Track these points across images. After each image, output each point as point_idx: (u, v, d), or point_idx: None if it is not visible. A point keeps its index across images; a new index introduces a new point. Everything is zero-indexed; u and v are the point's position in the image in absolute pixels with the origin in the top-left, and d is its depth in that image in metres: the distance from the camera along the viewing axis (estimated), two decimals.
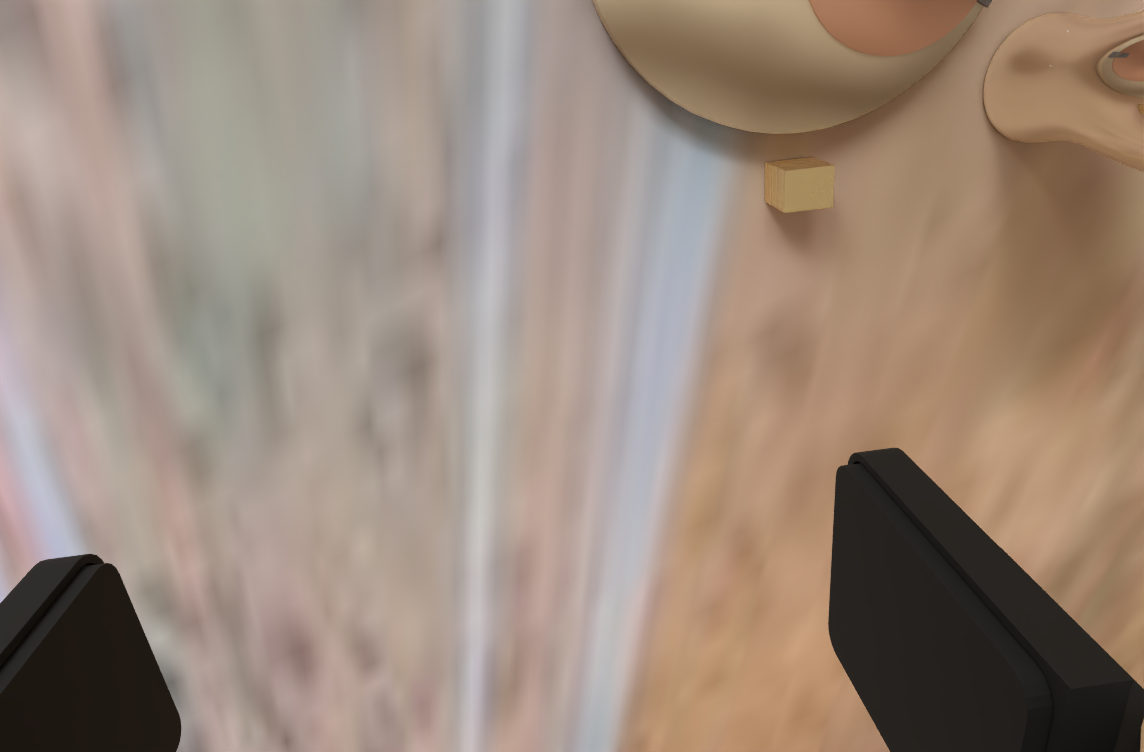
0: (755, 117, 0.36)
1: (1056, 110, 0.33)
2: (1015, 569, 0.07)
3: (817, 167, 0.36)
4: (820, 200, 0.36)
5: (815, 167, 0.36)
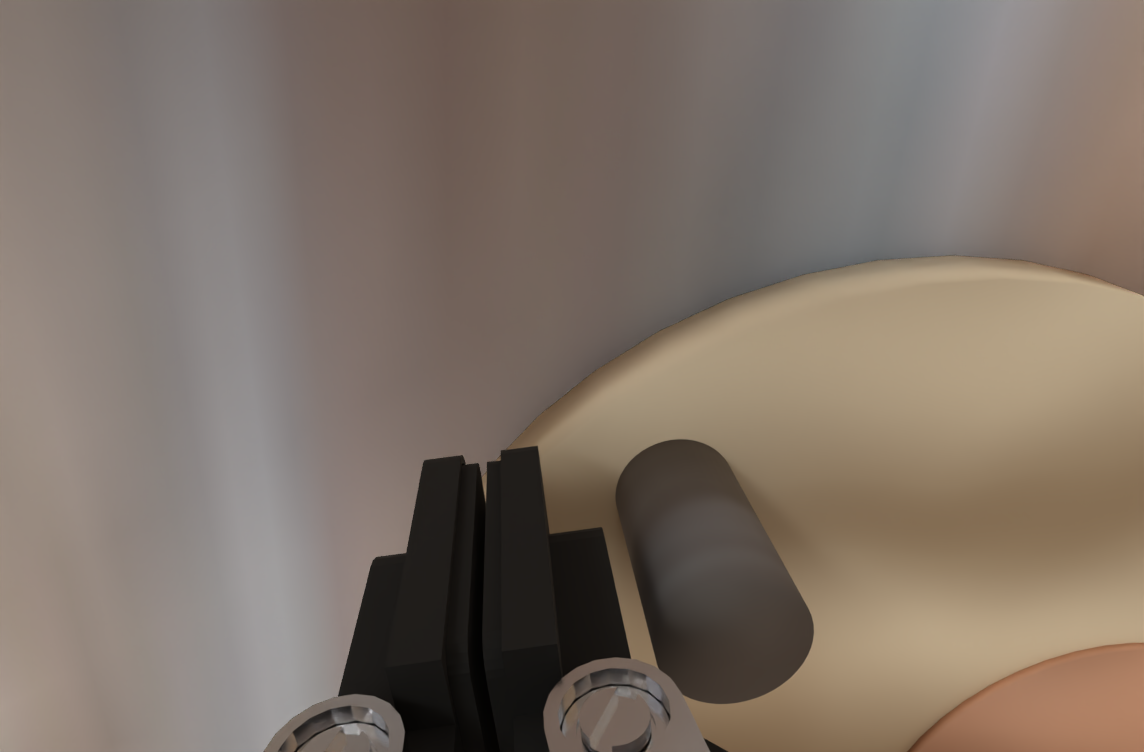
0: None
1: None
2: (542, 551, 0.08)
3: None
4: None
5: None
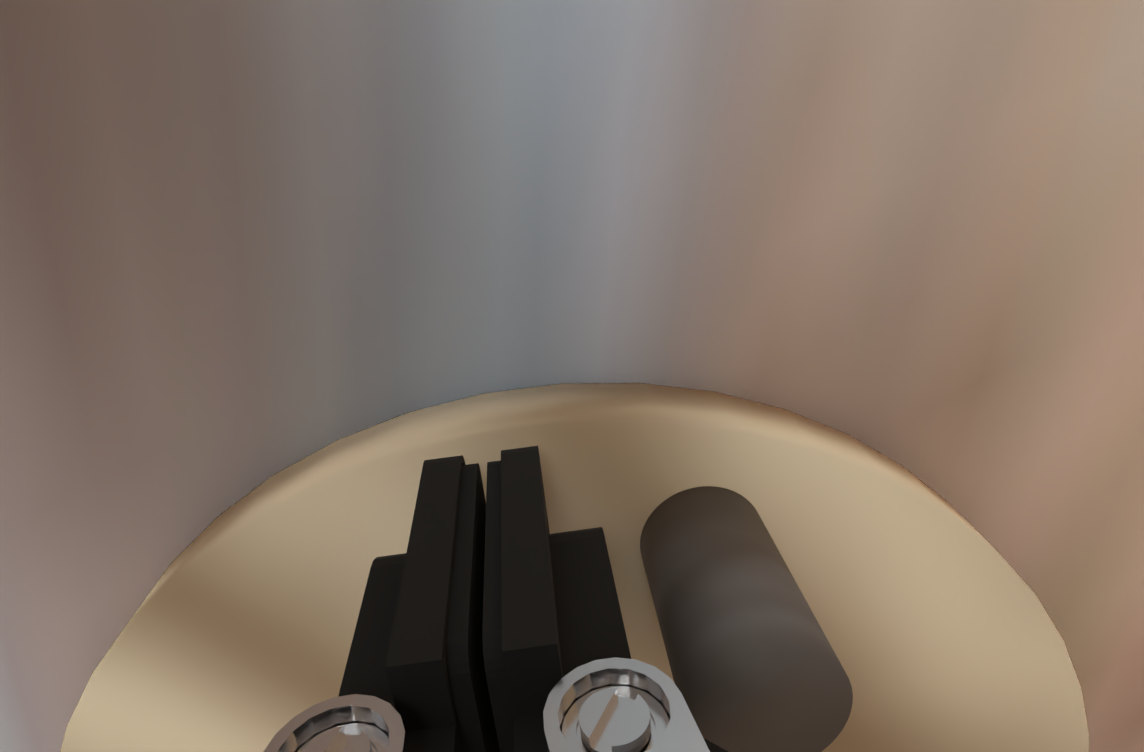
0: None
1: None
2: (542, 551, 0.08)
3: None
4: None
5: None
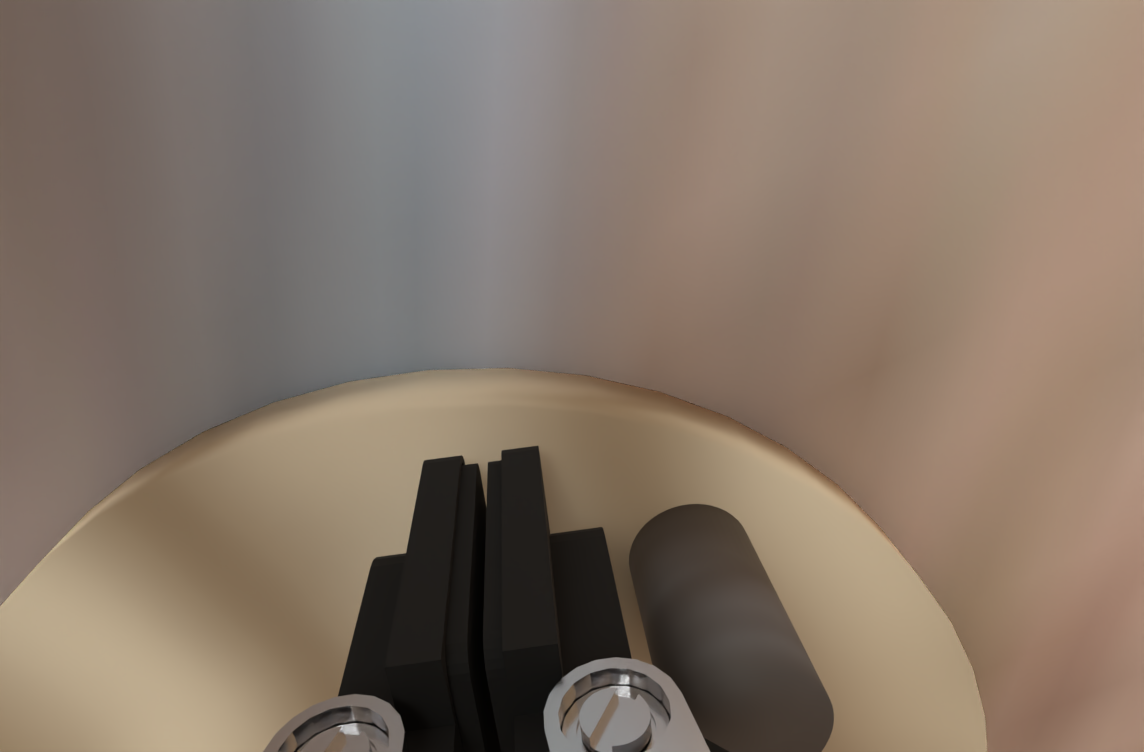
0: None
1: None
2: (542, 551, 0.08)
3: None
4: None
5: None
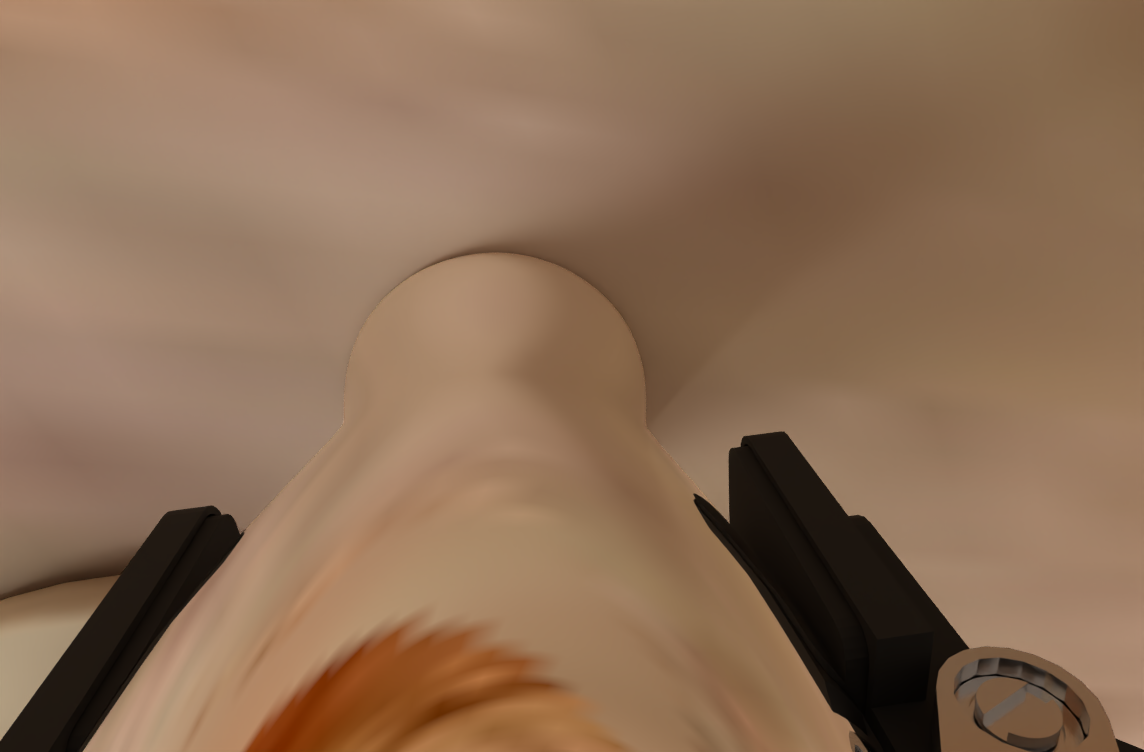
0: None
1: None
2: (858, 537, 0.08)
3: None
4: None
5: None
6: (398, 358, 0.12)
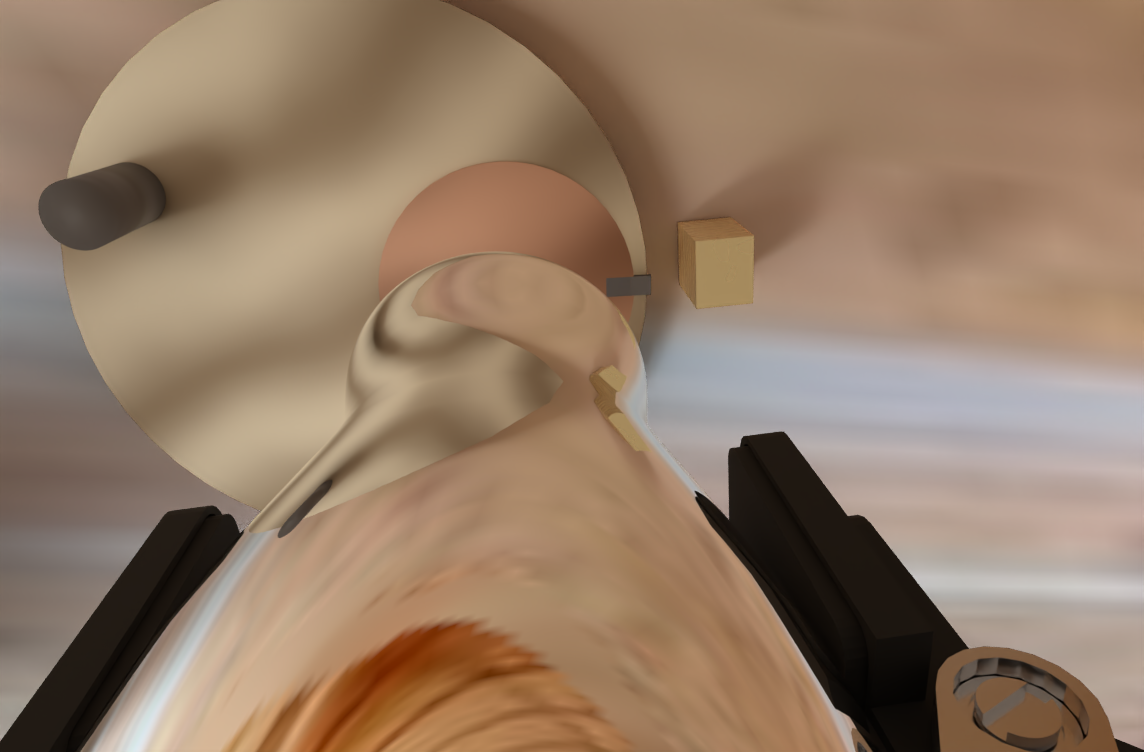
0: None
1: None
2: (858, 537, 0.08)
3: (696, 264, 0.26)
4: (742, 255, 0.26)
5: (695, 266, 0.26)
6: (399, 357, 0.11)
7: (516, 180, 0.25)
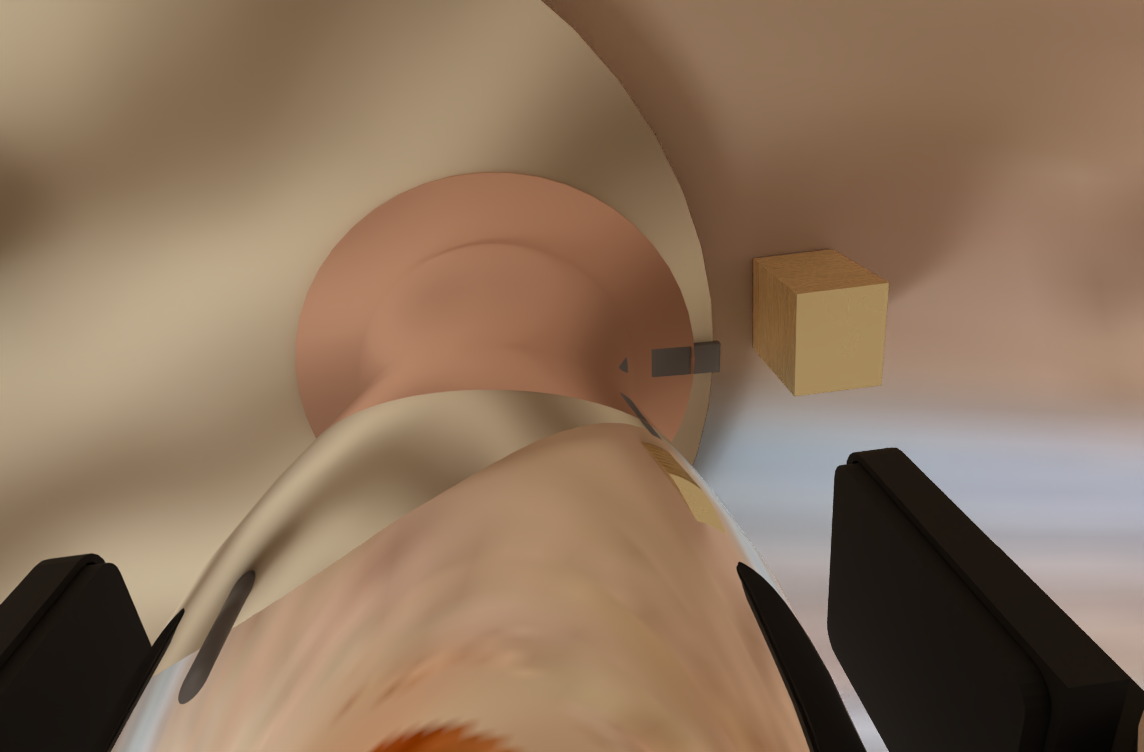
0: None
1: None
2: (1013, 568, 0.07)
3: (796, 329, 0.16)
4: (868, 313, 0.16)
5: (795, 332, 0.16)
6: (407, 337, 0.13)
7: (509, 202, 0.16)
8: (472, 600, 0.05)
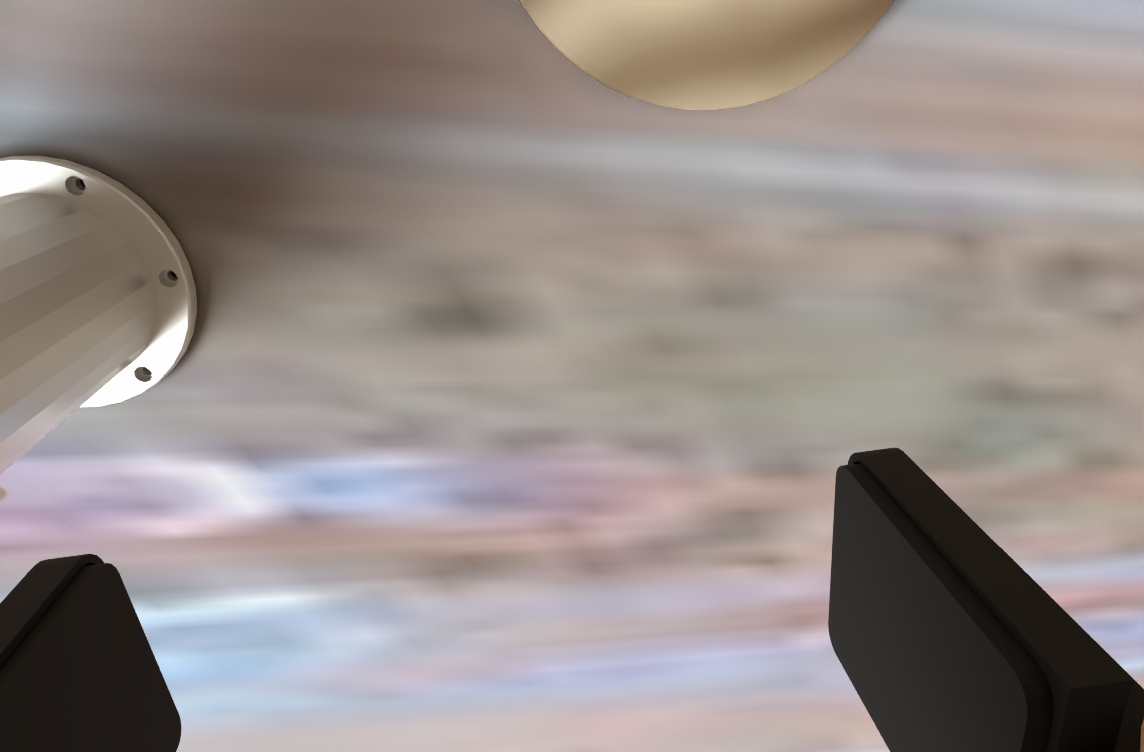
0: (769, 83, 0.35)
1: None
2: (1015, 569, 0.07)
3: None
4: None
5: None
6: None
7: None
8: None
